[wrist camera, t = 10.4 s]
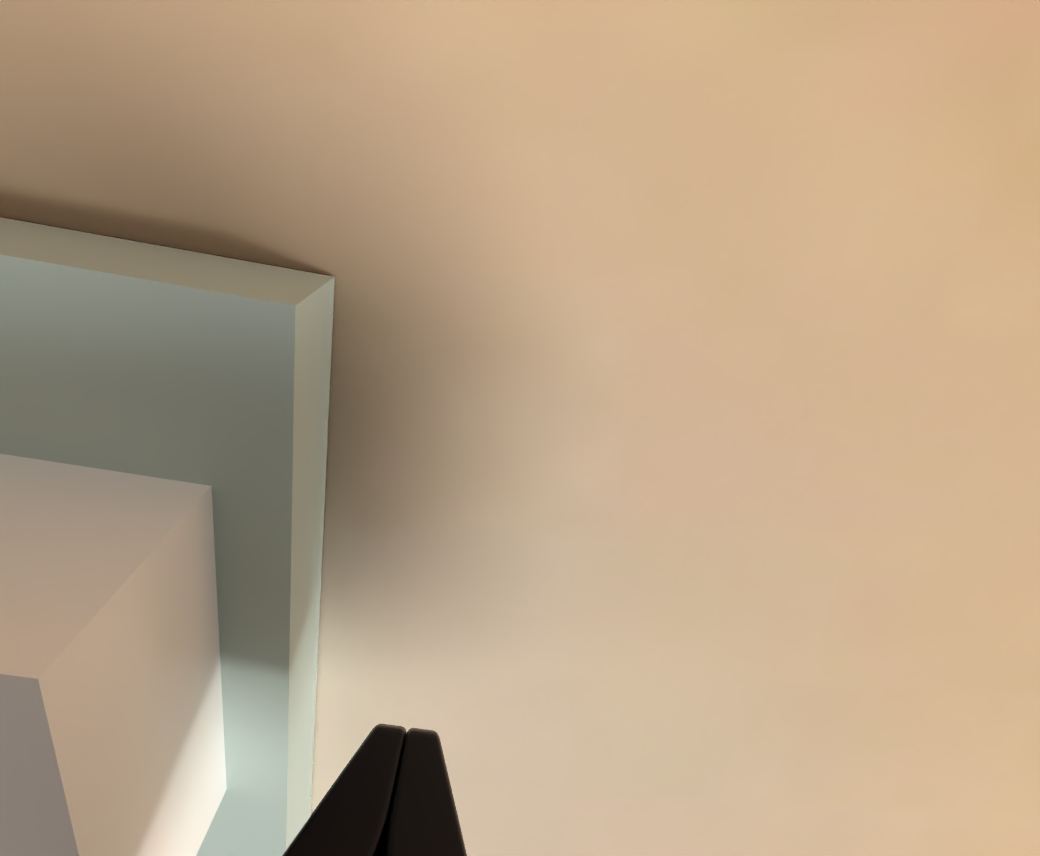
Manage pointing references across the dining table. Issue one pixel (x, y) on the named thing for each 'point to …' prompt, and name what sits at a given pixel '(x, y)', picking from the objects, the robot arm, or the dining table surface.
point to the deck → (196, 458)
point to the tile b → (107, 663)
